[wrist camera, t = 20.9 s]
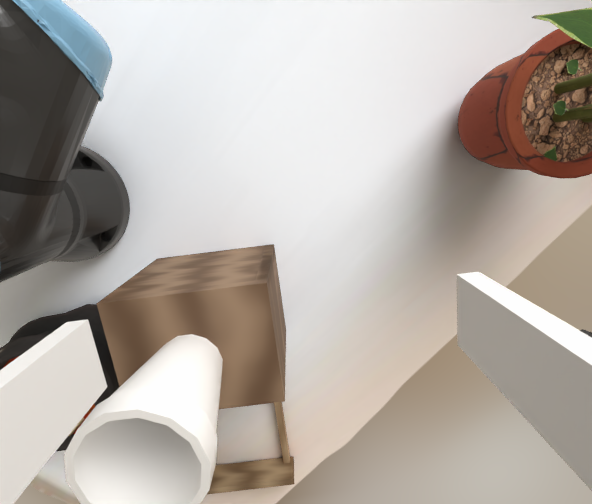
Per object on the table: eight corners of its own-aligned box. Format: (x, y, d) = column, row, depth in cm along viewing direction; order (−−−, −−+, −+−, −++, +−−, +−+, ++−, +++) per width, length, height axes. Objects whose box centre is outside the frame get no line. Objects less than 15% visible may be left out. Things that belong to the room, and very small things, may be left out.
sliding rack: (208, 471, 58) (202, 494, 54) (183, 361, 53) (174, 377, 49) (293, 461, 58) (294, 484, 54) (277, 349, 53) (276, 365, 49)
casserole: (88, 270, 50) (49, 291, 42) (181, 361, 54) (162, 396, 46) (-28, 373, 54) (-84, 410, 46) (68, 451, 57) (31, 500, 49)
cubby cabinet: (176, 343, 53) (128, 419, 37) (157, 258, 50) (96, 303, 34) (285, 330, 53) (284, 401, 37) (273, 244, 50) (266, 282, 34)
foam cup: (257, 362, 36) (240, 470, 23) (197, 420, 37) (150, 551, 25) (184, 300, 34) (123, 381, 22) (124, 363, 36) (33, 474, 23)
